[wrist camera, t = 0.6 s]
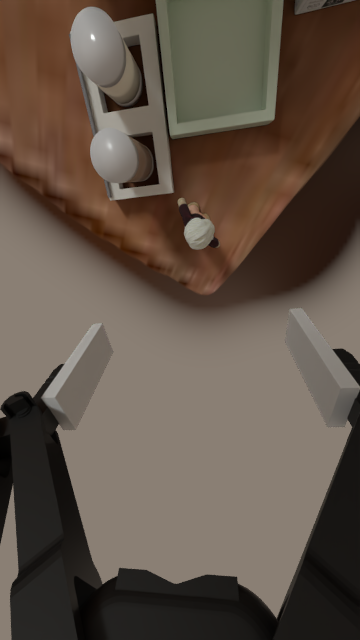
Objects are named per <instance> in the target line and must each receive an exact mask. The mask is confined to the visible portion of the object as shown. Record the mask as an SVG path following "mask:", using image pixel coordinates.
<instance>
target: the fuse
mask: <svg viewBox="0 0 360 640" xmlns="http://www.w3.org/2000/svg"><path fill="white" fill-rule="evenodd" d="M71 47H72V52H73V55H74V58H75V61H76V63H77V65H78V67H79V68H80V70H81V71H82V72H83V73H84V74H85V75H86V76H87V77H88V78H89V79H90V80H91V81H92V82H93V83H95V84H96V85H97V86H98V87H99V88H100V89H101V90H102V91H104V92H105V93H106V94H107V95H108V96H109V97H110V98H111V99H113V100H114V101H115V102H116V103H117V104H118V105H120V106H122V107H132V106H134V105H135V104H136V103H137V102H138V101H139V99H140V97H141V95H142V91H143V78H142V74H141V71H140V69H139V67H138V65H137V63H136V62H135V60H134V58H133V56H132V54H131V53H130V51H129V49H128V47H127V45H126V44H125V42H124V40H123V38H122V36H121V35H120V33H119V31H118V29H117V27H116V26H115V24H114V22H113V21H112V19H111V18H110V17H109V15H108V14H107V13H106V12H104V11H103V10H101V9H99V8H96V7H87V8H85V9H83V10H81V11H80V12H79V13H78V15H77V16H76V18H75V20H74V22H73V25H72V30H71Z"/></svg>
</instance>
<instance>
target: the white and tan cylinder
mask: <svg viewBox="0 0 360 640" xmlns="http://www.w3.org/2000/svg"><path fill="white" fill-rule="evenodd" d="M90 154H91V160H92V163H93V166H94V168H95V170H96V171H97V173H98V174H99V175H100V176H101V177H102V178H103V179H105V180H106V181H108V182H111V183H127V182H142V181H145V180H147V179H148V178H149V177H150V176H151V175H152V173H153V170H154V158H153V155H152V153H151V151H150V150H149V149H148V148H147V147H146V146H145V145H143V144H142V143H140V142H138V141H136V140H135V139H133V138H131V137H130V136H128V135H126V134H125V133H123V132H121V131H119V130H117V129H115V128H104V129H102V130H100V131H99V132H98V133H97V134H96V135H95V136H94V138H93V140H92V143H91V148H90Z"/></svg>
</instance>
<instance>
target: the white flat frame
mask: <svg viewBox="0 0 360 640" xmlns="http://www.w3.org/2000/svg"><path fill="white" fill-rule="evenodd" d="M114 24H115V26H116V27H117V29H118V31H119V33H120V35H121V36H122V38H123V40H124V42H125V44H126V45H127V47H130V46H135V45H141V52H142V60H143V67H144V74H145V82H146V89H147V97H148V104H149V106H143V107H137V108H131V109H126V110H120V111H114V112H108V110H107V105H106V101H105V96H104V91H102V90H101V89H100V88H99V87H98V86H97V85H96V84H95V83H93V82H92V81H91V80H90V79H89V78H88V77H87V76H86V75H85V74H84V73H83V72H82V71H81V70H80V68H79V67H78V65H77V63H76V66H77V70H78V74H79V78H80V82H81V86H82V90H83V95H84V99H85V103H86V107H87V111H88V115H89V119H90V124H91V128H92V132H93V136H95V135H96V134H97V133H98V132H99V131H100V130H102V129H104V128H115V129H117V130H119V131H121V132H123V133H125V134H126V135H128V136H130V137H131V138H134V137H140V136H147V135H153V141H154V148H155V155H156V163H157V170H158V177H159V184H157V185H149V186H142V187H134V188H126V189H124V188H123V183H111V182H108V181H106V180H105V179H104V182H105V186H106V190H107V194H108V198H110V201H111V200H119V199H127V198H135V197H143V196H151V195H159V194H167V193H174V184H173V175H172V166H171V156H170V147H169V138H168V129H167V120H166V110H165V101H164V92H163V83H162V74H161V64H160V55H159V46H158V37H157V28H156V22H155V19H154V15H153V13H152V14H147V15H143V16H138V17H134V18H129V19H125V20H120V21H116V22H114ZM69 37H70V41H71V32H70V34H69Z"/></svg>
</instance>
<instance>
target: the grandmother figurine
mask: <svg viewBox="0 0 360 640" xmlns="http://www.w3.org/2000/svg"><path fill="white" fill-rule="evenodd" d="M178 205H179V211H180V214H181V216H182V218H183V221H184V225H185V231H184V236H185V239H186V241H187V242H188V244H189V246H190V247H191V248H192V249H196V250H199V249H203V248H205V247H206V246H207V245H209V246H211V247H213V248H218V247H219V246H220V242H219V241H218V239H216V238H215V237H214V236H213V235H214V232H215V230H214V228H215V227H214V225H213V224H212V222H211V221H210V217H209V216H208V215H207V214H206V213H204V214H202V213H200V212H199V210H200V207H199V205H198V204H197V203H196V202H193V203H190V204H188V205H187V204H186V201H185V199H184V198H180V199H179V200H178Z"/></svg>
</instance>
